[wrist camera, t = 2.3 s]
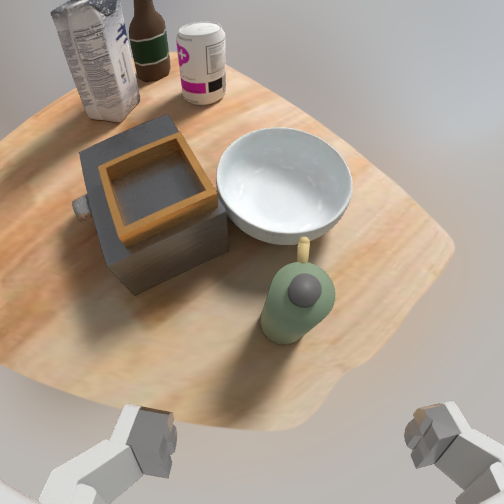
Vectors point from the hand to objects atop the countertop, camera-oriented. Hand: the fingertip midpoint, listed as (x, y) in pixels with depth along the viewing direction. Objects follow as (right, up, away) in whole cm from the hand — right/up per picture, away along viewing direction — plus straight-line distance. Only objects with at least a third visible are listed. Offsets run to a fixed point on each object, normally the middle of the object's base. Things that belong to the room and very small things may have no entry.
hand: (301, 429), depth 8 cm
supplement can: (-11, +36, +44) cm, 58 cm away
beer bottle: (-23, +45, +48) cm, 70 cm away
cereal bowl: (+2, +12, +33) cm, 36 cm away
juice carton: (-29, +33, +42) cm, 61 cm away
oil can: (+2, -1, +27) cm, 27 cm away
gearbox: (-16, +10, +31) cm, 36 cm away
